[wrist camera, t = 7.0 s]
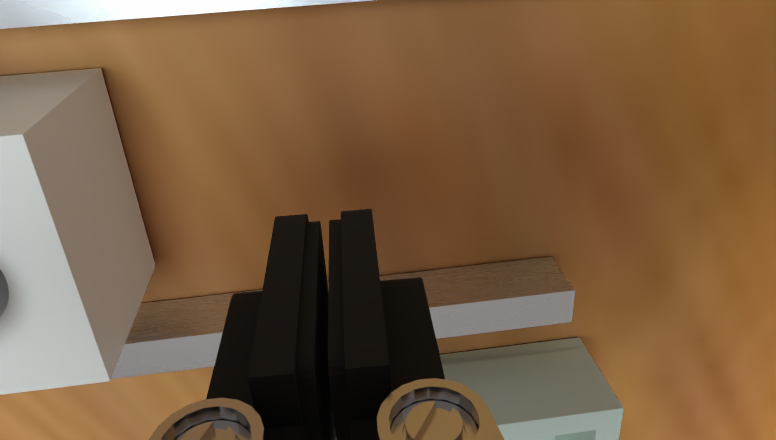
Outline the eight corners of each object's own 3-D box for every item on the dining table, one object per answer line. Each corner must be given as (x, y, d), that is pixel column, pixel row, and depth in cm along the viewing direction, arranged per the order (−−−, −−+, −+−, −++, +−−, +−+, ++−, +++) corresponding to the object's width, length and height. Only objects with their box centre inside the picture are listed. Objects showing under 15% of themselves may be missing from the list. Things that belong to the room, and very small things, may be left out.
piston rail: (579, -77, 16) (688, -67, 11) (549, 286, 21) (614, 389, 17) (-266, -21, 14) (-525, 18, 10) (-68, 359, 19) (-177, 495, 15)
